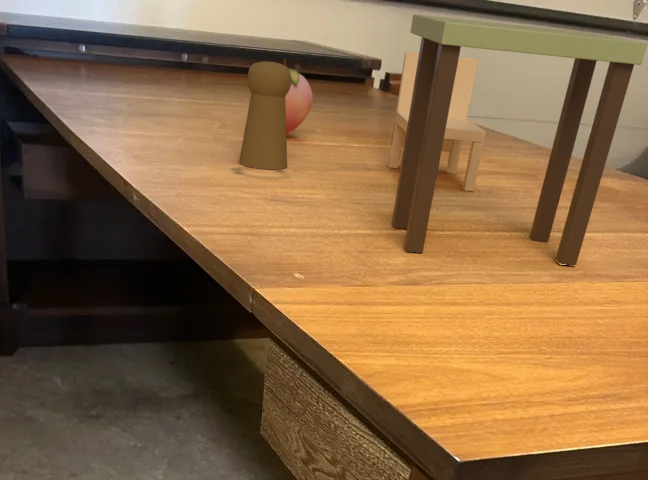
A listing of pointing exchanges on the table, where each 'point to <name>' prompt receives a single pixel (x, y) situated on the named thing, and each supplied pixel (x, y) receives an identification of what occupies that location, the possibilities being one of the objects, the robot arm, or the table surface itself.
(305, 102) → the decorative fruit
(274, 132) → the cork
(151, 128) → the table surface
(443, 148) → the chair
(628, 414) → the table surface
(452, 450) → the table surface
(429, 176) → the side table
